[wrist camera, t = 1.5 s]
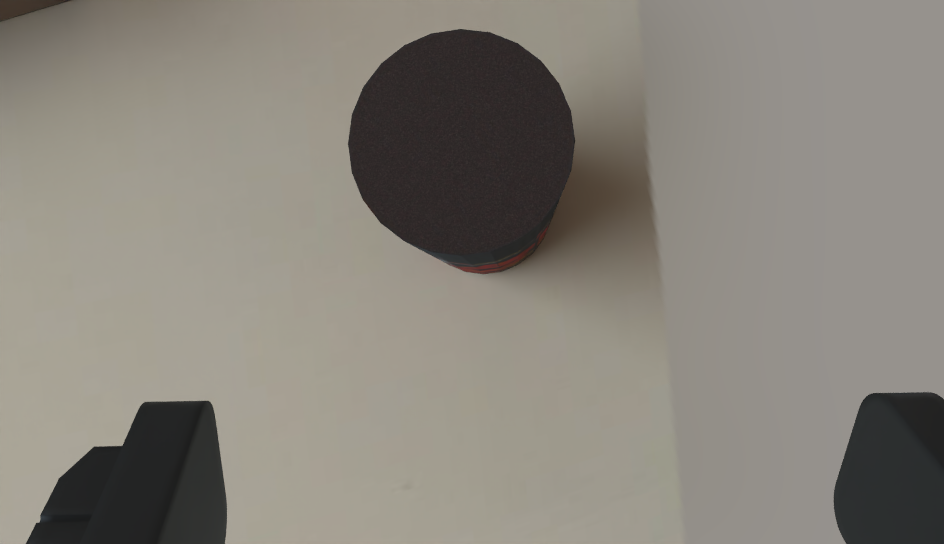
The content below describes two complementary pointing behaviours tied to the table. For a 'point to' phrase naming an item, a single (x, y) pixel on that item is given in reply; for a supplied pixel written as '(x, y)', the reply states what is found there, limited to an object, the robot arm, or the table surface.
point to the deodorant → (463, 148)
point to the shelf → (23, 7)
